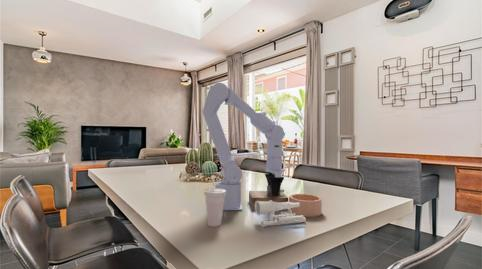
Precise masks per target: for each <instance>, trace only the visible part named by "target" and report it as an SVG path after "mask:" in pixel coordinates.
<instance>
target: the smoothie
mask: <svg viewBox="0 0 482 269" xmlns="http://www.w3.org/2000/svg"><path fill="white" fill-rule="evenodd" d="M215 178H216V176H215V175H212V188H207V189H205V190H204V191H203V192H204V193H203V195H204V198H205V206H206V216H207V217H206V218H207V225H208V227H213V228H214V227H220V226H221V225H222V218H223V211H224V210H223V206H224V200H225V195H226V190H224V189H218V188H215V184H216V181H215Z"/></svg>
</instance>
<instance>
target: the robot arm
mask: <svg viewBox="0 0 482 269" xmlns="http://www.w3.org/2000/svg"><path fill="white" fill-rule="evenodd" d="M223 103H224V105H227V106H233V107H234V108H236V109H237V110H238V111H240V112H241V113H242V114H243V115H245V116H246V117H248V118H249V120H250V124H251V125H252V126H254V127H255V128H256V129H257V130H258V131H260V132H261V133H262V134H264V136H265V138H266V160H265V161H266V167H265V172H267V173H264V176H265V178H266V181H267V185H271V193H272V196H278V194H279V190H280V189H281V185H282V183H283V182H284V179H285V177H284V176H282V172H286V169H285V168H283V139H284V138H285V136H286V132H285V130H284V128H283V127H282V126H281V125H279V124H277V125H276V121H274V120H272V119H270V118H269V117H268V116H267V113H266V112H265V111H260V110H258V111H255V109H253V107H252V106H250V105H249V104H248V103H247V102H246V101H245V100H244V99H242V98H241V96H239V95H238V93H236V92H235V91H234V90H233V89H232V88H230V87H228V86H227V85H226V84H225V83H223V82H215V83H214V84H212V86H211V87H210V89H209V90H208V92H207V95H206V98H205V102H204V106H203V109H202V115H203V118H204V120H205V124H206V126H207V129H208V132H209V134H210V136H211V137H210V138H211V139H212V142H213V145H214V148H215V151H216V154H217V156H218V159H219V163H220V166H221V170H220V172H221V173H220V174H221V175H222V177H223V178H222V179H221V180H220V182H215V183H214V188H218V189H224V190H226V195H225V200H224V206H223V211H242V210H243V206H242V203H241V200H242V199H241V198H242V196H241V195H242V181H241V180H242V177H243V171H242V169H241V168H240V167H239V166H238V164H237V163H236V160H235V158H234V156H233V153H232V151H231V149H230V146H229V144H228V140H227V138H226V135H225V132H224V128H223V127H222V124H221V121H220V119H219V116H218V111H219V109H220V108H221V105H222V104H223Z"/></svg>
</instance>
